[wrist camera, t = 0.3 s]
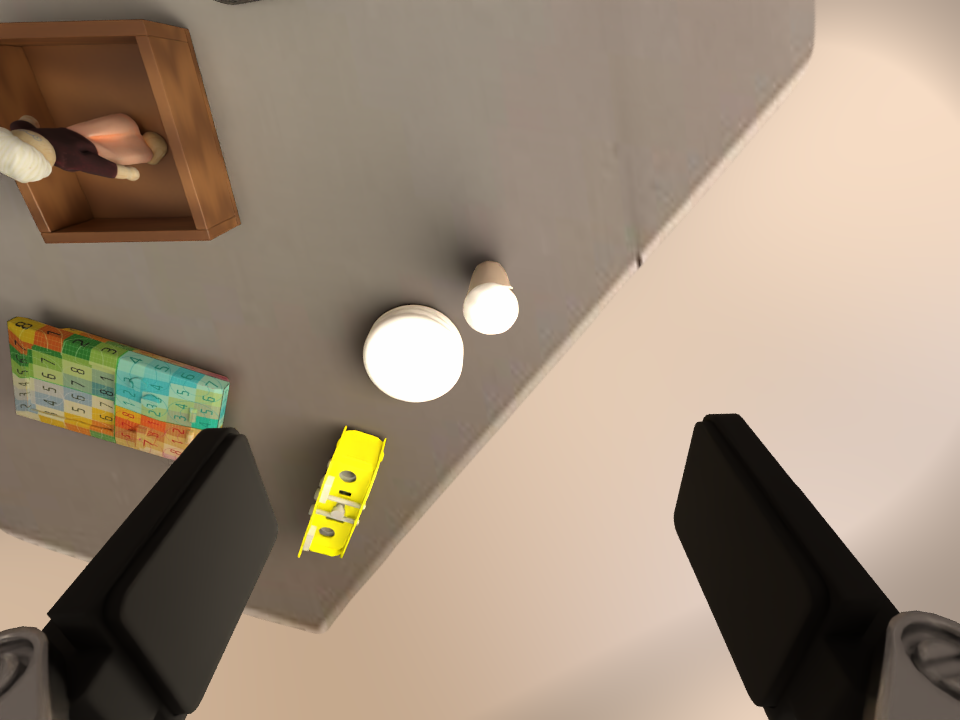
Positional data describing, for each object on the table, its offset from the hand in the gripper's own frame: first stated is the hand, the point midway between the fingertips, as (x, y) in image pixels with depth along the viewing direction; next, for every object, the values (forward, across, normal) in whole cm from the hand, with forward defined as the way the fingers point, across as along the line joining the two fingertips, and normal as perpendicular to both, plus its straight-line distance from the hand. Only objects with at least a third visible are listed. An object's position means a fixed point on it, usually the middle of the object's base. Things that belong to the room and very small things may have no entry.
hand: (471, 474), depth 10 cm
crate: (+36, +29, -5) cm, 47 cm away
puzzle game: (+36, +38, +19) cm, 56 cm away
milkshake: (+36, -1, +8) cm, 37 cm away
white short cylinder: (+36, +7, +16) cm, 40 cm away
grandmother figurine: (+36, +29, -5) cm, 46 cm away
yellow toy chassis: (+36, +18, +34) cm, 53 cm away
